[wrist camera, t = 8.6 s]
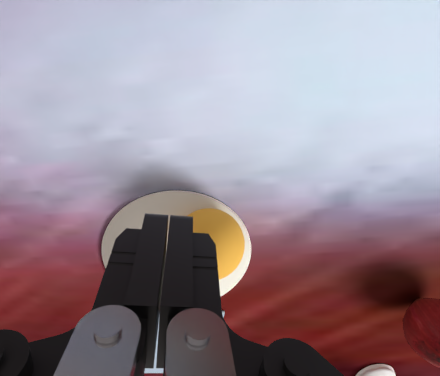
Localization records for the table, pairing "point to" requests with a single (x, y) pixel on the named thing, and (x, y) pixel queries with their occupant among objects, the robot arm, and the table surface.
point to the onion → (424, 328)
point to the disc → (169, 205)
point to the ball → (221, 237)
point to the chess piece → (377, 370)
